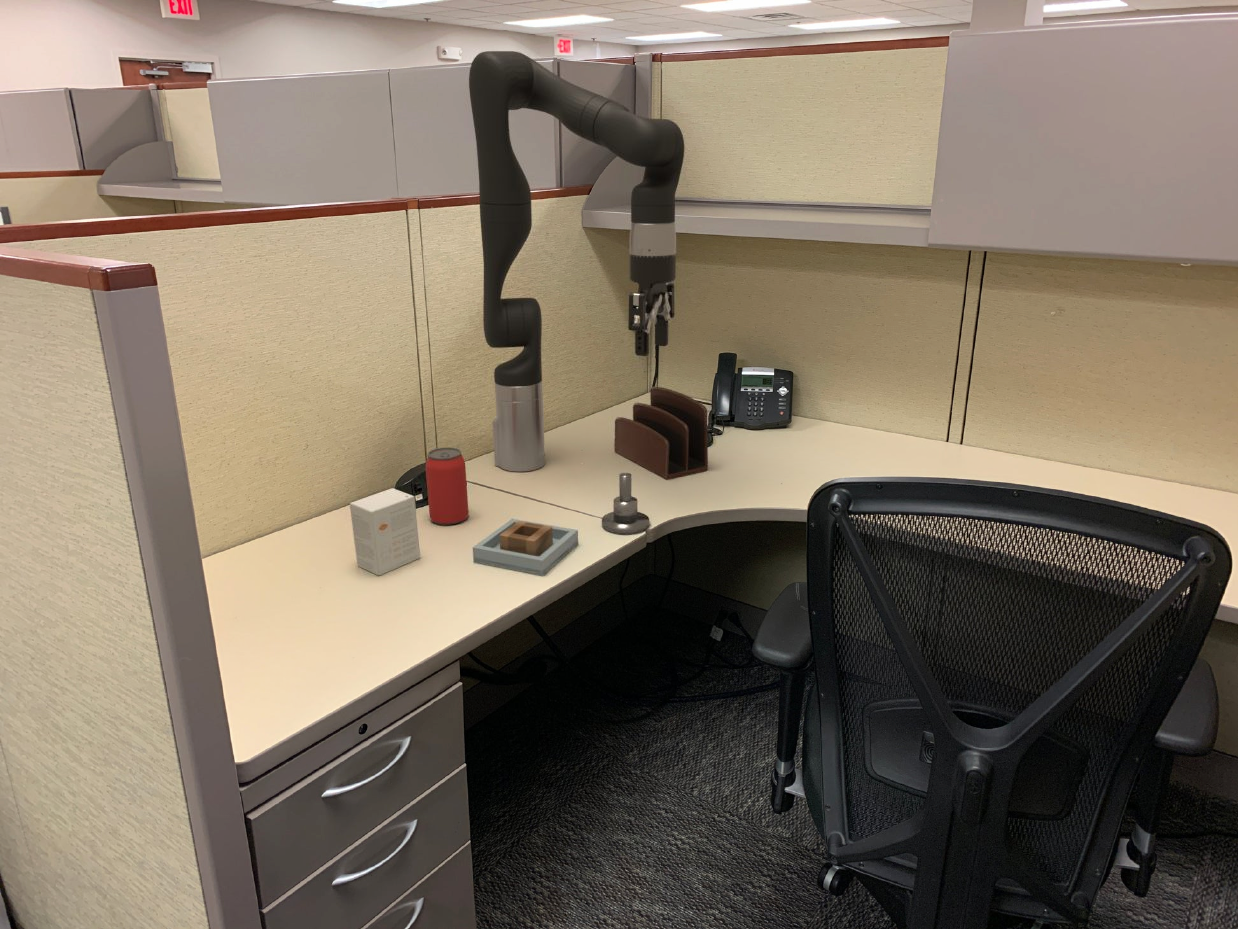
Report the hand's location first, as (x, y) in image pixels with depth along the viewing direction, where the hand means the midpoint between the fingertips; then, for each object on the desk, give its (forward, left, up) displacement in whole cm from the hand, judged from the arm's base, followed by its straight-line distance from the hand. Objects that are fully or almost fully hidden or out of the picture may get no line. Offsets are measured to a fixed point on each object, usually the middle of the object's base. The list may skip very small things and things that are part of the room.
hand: (652, 350), depth 146 cm
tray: (-11, -27, -28) cm, 40 cm away
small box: (-29, -38, -28) cm, 55 cm away
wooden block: (-11, -27, -27) cm, 39 cm away
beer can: (-30, -20, -28) cm, 45 cm away
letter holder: (-7, +22, -28) cm, 36 cm away
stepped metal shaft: (-1, -11, -28) cm, 30 cm away
